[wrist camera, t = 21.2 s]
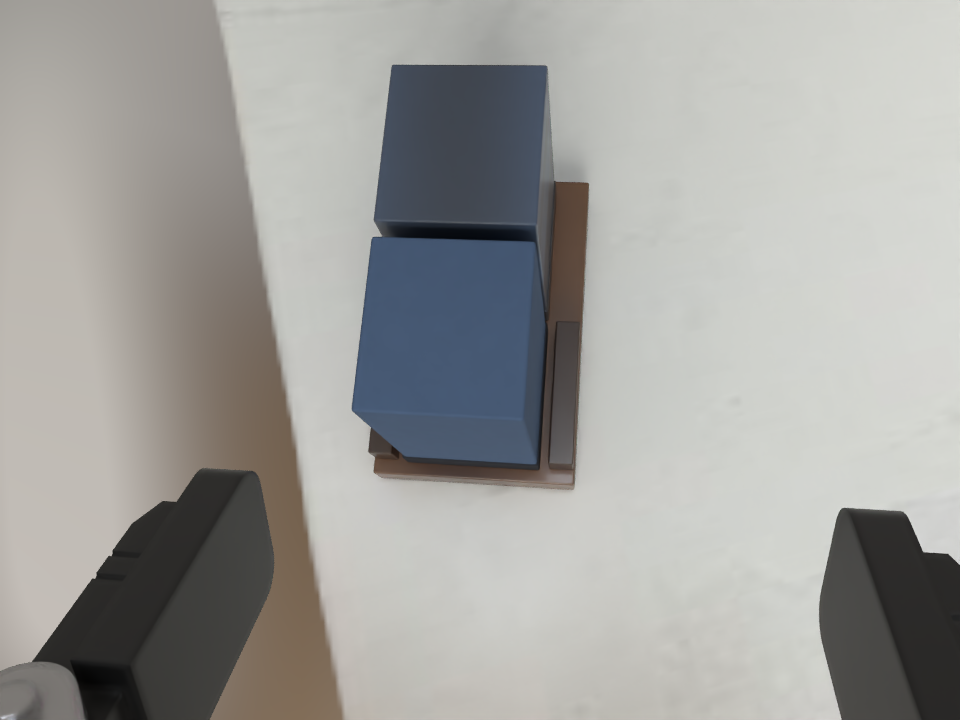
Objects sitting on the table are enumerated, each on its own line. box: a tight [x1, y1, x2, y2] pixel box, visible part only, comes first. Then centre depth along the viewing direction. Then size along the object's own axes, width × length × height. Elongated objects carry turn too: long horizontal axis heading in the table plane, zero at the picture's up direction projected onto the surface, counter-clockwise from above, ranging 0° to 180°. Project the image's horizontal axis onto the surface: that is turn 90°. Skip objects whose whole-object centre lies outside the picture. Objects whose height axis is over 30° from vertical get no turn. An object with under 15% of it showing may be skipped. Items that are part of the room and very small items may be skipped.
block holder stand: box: [368, 65, 589, 490], centre depth 28 cm, size 7×11×9 cm, turn 176°
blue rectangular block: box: [352, 237, 548, 470], centre depth 27 cm, size 4×5×8 cm
